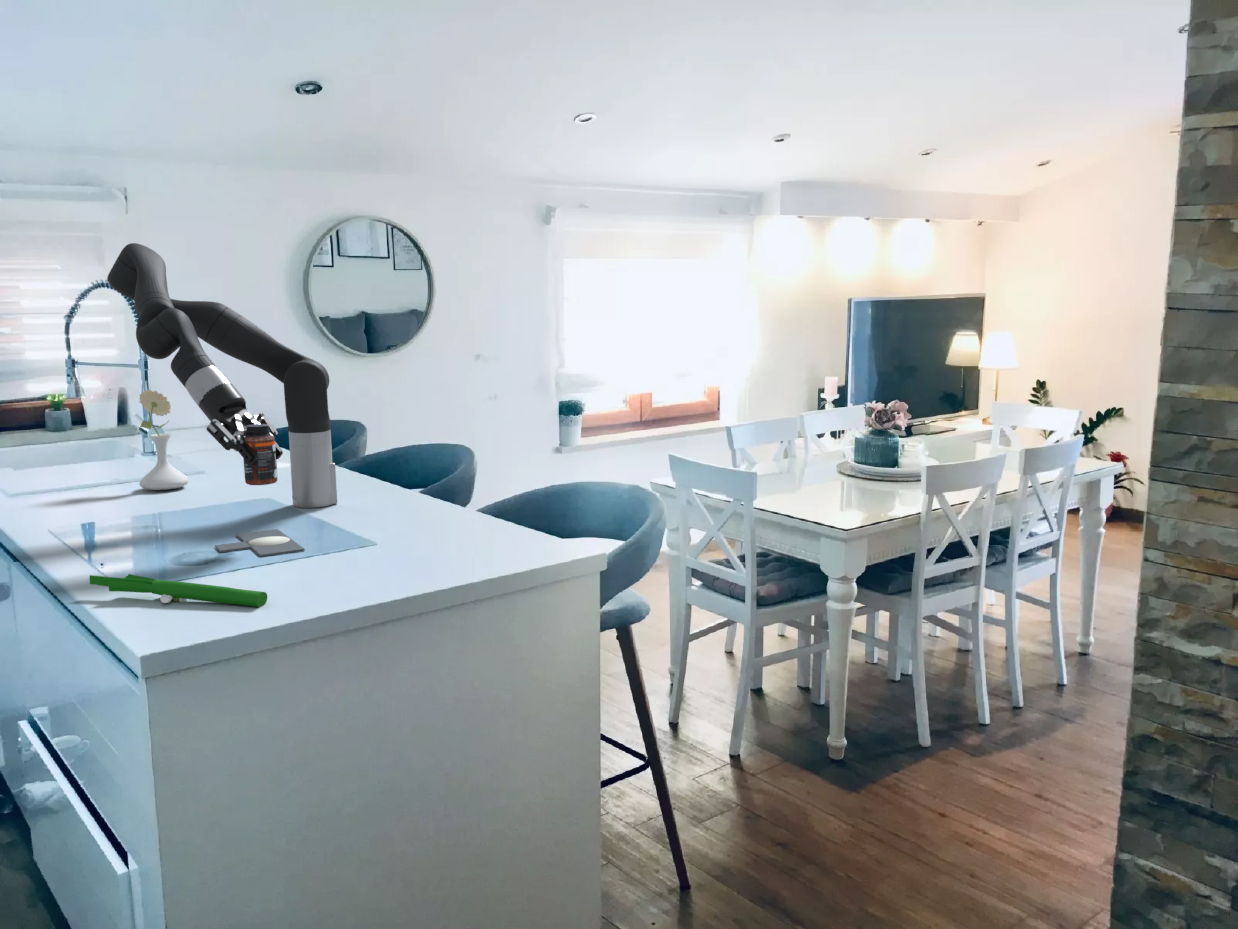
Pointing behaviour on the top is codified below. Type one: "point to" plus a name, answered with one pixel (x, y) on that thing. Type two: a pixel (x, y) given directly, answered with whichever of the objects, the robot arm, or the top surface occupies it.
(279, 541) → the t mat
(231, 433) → the robot arm
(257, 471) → the supplement bottle
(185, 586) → the green onion
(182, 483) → the flower in vase
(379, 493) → the top surface
